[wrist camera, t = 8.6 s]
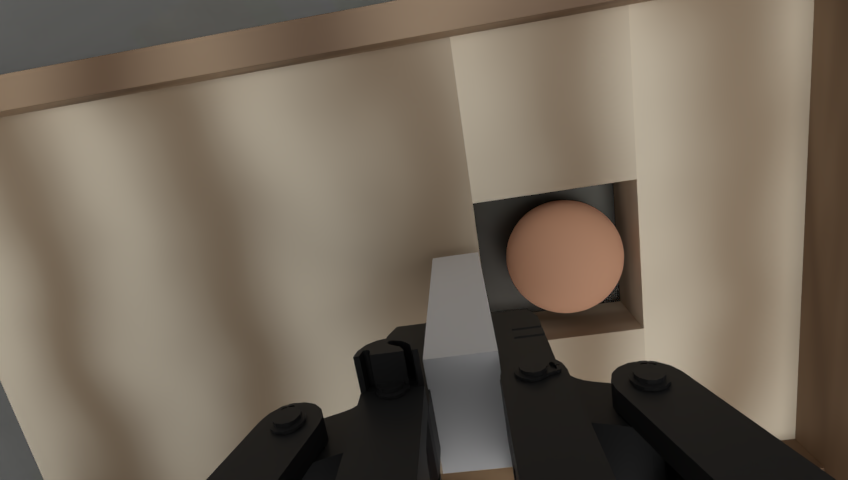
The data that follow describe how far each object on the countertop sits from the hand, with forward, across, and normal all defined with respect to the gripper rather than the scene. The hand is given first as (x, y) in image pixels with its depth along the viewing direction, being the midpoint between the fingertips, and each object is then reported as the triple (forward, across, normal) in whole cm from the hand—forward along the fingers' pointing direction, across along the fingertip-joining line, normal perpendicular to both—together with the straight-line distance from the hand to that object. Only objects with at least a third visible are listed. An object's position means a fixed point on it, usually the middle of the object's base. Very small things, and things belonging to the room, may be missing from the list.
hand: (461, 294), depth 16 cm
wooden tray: (+4, -4, 0) cm, 5 cm away
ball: (+2, +4, 0) cm, 4 cm away
